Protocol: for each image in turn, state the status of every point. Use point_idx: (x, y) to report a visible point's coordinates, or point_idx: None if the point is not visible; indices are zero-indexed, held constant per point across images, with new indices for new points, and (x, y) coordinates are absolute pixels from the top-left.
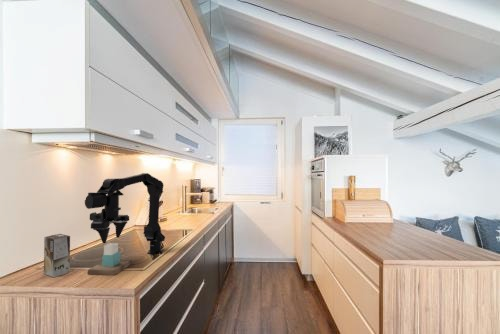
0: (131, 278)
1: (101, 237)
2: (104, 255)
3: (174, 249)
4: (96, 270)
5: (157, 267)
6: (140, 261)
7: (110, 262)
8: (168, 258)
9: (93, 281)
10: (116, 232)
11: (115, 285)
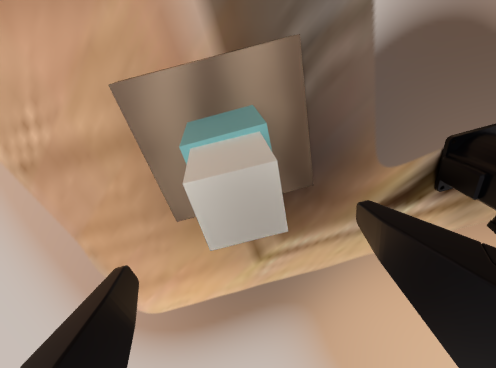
0: (189, 273)
1: (53, 350)
2: (185, 161)
3: None
4: (137, 140)
5: (292, 275)
6: (340, 185)
7: None
8: None
9: (95, 186)
10: (407, 243)
11: None
